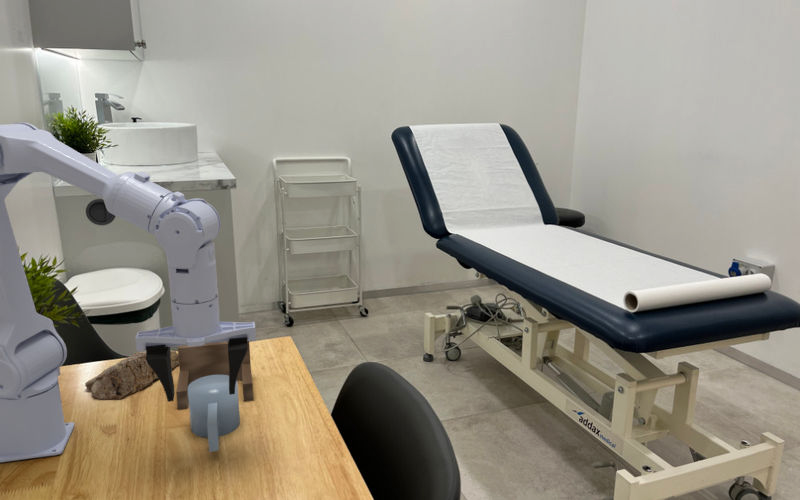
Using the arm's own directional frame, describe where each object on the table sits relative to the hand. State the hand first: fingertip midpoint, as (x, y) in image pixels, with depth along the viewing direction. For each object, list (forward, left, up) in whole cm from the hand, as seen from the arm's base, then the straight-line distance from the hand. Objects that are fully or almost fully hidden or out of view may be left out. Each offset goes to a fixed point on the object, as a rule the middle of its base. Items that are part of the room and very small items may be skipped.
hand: (202, 394), depth 79 cm
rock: (-13, +28, -10) cm, 32 cm away
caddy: (+1, +19, -9) cm, 21 cm away
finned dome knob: (+1, +5, -9) cm, 11 cm away
